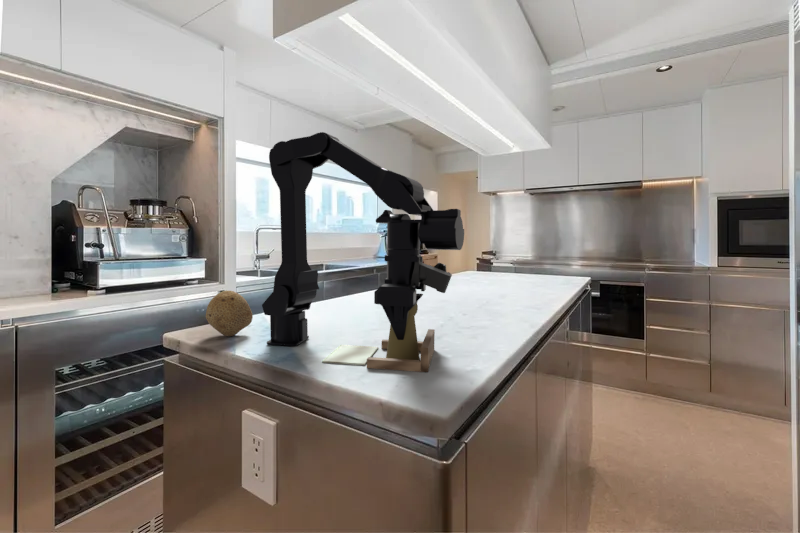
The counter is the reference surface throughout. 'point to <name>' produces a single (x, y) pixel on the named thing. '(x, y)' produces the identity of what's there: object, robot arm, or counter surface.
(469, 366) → the counter surface
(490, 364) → the counter surface
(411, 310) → the cork
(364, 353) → the wooden frame with plate
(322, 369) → the counter surface
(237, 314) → the natural sponge
